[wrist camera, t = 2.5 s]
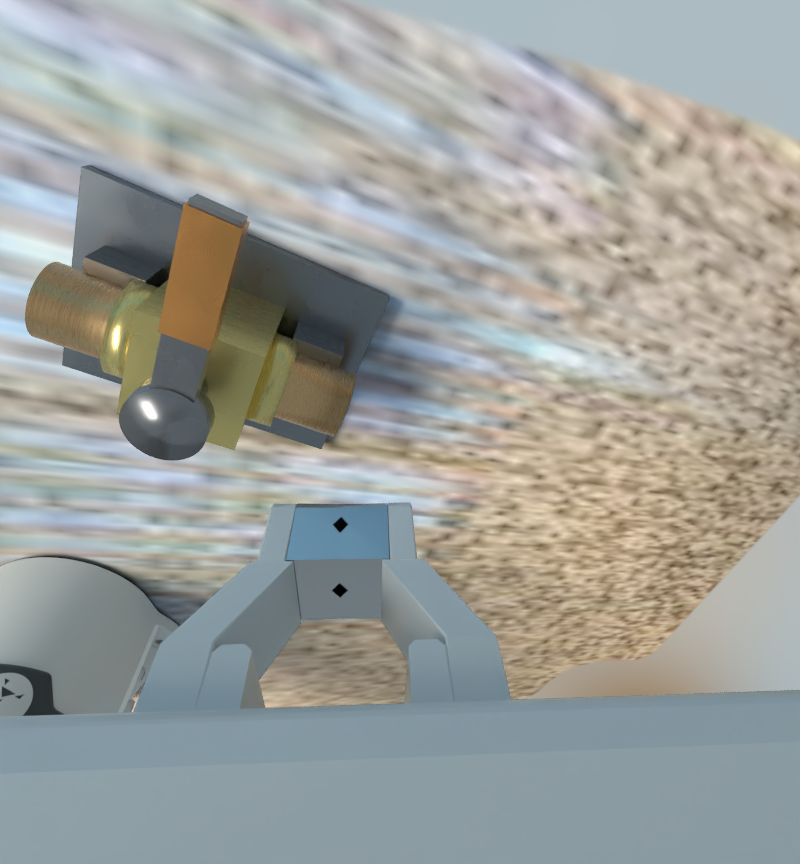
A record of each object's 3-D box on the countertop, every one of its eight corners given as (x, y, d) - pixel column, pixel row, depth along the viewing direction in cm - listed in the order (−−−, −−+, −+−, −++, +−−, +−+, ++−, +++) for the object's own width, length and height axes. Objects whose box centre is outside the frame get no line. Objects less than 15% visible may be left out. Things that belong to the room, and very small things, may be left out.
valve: (322, 442, 36) (309, 539, 28) (68, 359, 31) (-34, 447, 23) (388, 295, 30) (396, 364, 22) (88, 165, 25) (-39, 193, 17)
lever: (205, 451, 24) (196, 469, 23) (126, 428, 23) (113, 445, 22) (272, 225, 18) (266, 234, 17) (172, 181, 17) (158, 187, 16)
